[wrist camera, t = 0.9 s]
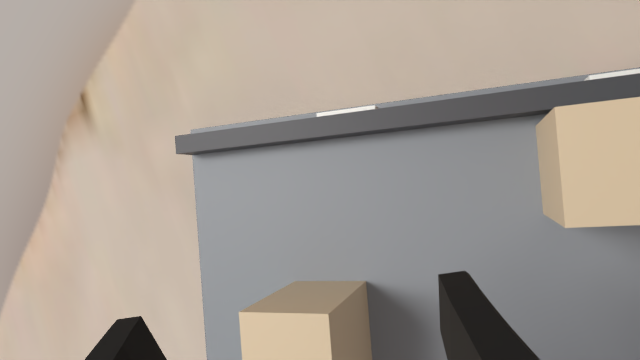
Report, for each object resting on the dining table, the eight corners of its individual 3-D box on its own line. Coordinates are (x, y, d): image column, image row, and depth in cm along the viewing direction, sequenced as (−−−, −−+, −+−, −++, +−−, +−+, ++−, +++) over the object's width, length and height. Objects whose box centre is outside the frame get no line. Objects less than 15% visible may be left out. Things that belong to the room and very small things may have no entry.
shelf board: (823, 424, 18) (873, 461, 16) (218, 376, 28) (193, 395, 25) (786, 51, 18) (830, 33, 16) (200, 131, 28) (174, 127, 26)
